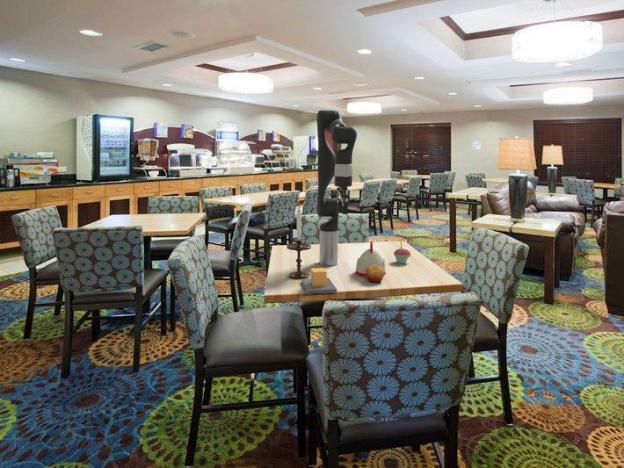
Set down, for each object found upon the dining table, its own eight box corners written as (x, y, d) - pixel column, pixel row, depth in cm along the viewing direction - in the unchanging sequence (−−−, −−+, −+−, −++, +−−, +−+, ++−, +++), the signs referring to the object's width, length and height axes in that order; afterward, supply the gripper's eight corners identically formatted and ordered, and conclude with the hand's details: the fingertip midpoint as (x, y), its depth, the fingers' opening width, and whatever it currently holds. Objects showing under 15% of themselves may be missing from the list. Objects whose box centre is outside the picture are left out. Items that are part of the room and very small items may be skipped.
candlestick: (308, 280, 190) (308, 201, 184) (284, 279, 192) (283, 201, 186) (312, 273, 201) (313, 198, 194) (290, 272, 203) (290, 198, 196)
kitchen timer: (384, 269, 208) (385, 239, 205) (386, 278, 195) (387, 245, 192) (355, 268, 210) (356, 238, 207) (355, 277, 196) (356, 245, 193)
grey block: (301, 282, 188) (301, 268, 187) (328, 281, 190) (328, 267, 189) (307, 294, 172) (307, 279, 171) (336, 292, 174) (336, 278, 173)
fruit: (381, 274, 196) (383, 261, 191) (383, 287, 190) (386, 275, 185) (363, 274, 196) (365, 261, 190) (365, 287, 190) (367, 275, 184)
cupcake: (390, 260, 225) (391, 238, 223) (404, 259, 228) (406, 237, 225) (398, 264, 217) (399, 241, 215) (413, 263, 220) (414, 240, 217)
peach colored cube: (311, 282, 183) (311, 268, 182) (323, 281, 184) (324, 268, 183) (313, 286, 178) (313, 272, 177) (326, 285, 179) (326, 271, 177)
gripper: (331, 174, 189) (330, 210, 192) (338, 176, 175) (337, 215, 179) (347, 174, 190) (347, 210, 194) (356, 176, 177) (355, 215, 180)
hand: (342, 212), depth 186 cm, fingers open, 8 cm apart
